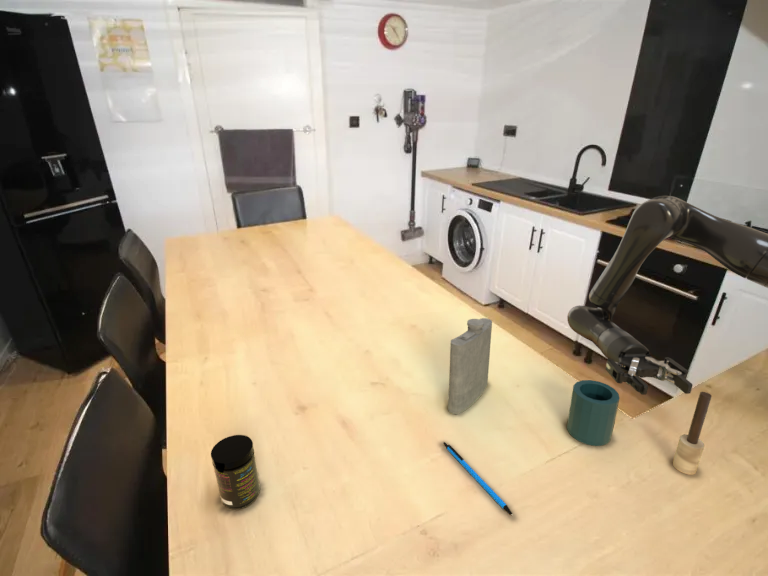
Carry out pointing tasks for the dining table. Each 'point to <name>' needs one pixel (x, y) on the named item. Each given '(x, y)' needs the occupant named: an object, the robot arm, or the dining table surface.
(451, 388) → the hip flask
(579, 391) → the teal pen holder
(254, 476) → the supplement container
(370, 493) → the dining table surface
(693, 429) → the brush
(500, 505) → the pen
